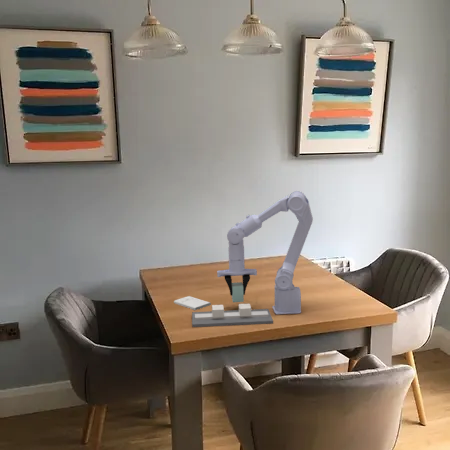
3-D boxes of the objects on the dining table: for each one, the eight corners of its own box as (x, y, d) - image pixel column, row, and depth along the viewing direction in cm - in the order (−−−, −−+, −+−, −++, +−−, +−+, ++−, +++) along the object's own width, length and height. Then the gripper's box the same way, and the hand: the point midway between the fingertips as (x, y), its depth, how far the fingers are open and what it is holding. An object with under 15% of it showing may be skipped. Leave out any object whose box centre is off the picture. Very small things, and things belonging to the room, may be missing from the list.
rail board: (268, 311, 197) (268, 299, 197) (273, 323, 186) (273, 310, 185) (192, 314, 196) (191, 302, 195) (192, 327, 184) (191, 314, 183)
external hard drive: (195, 311, 201) (173, 304, 209) (211, 306, 206) (189, 299, 215) (194, 307, 200) (173, 300, 209) (210, 302, 206) (189, 295, 215)
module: (242, 297, 203) (242, 282, 202) (243, 301, 198) (243, 286, 197) (231, 298, 202) (231, 282, 201) (232, 302, 198) (232, 286, 196)
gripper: (254, 255, 201) (255, 290, 204) (216, 257, 201) (217, 291, 203) (257, 260, 194) (257, 296, 197) (217, 262, 194) (218, 297, 196)
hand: (237, 294), depth 200 cm, fingers closed on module, 4 cm apart
